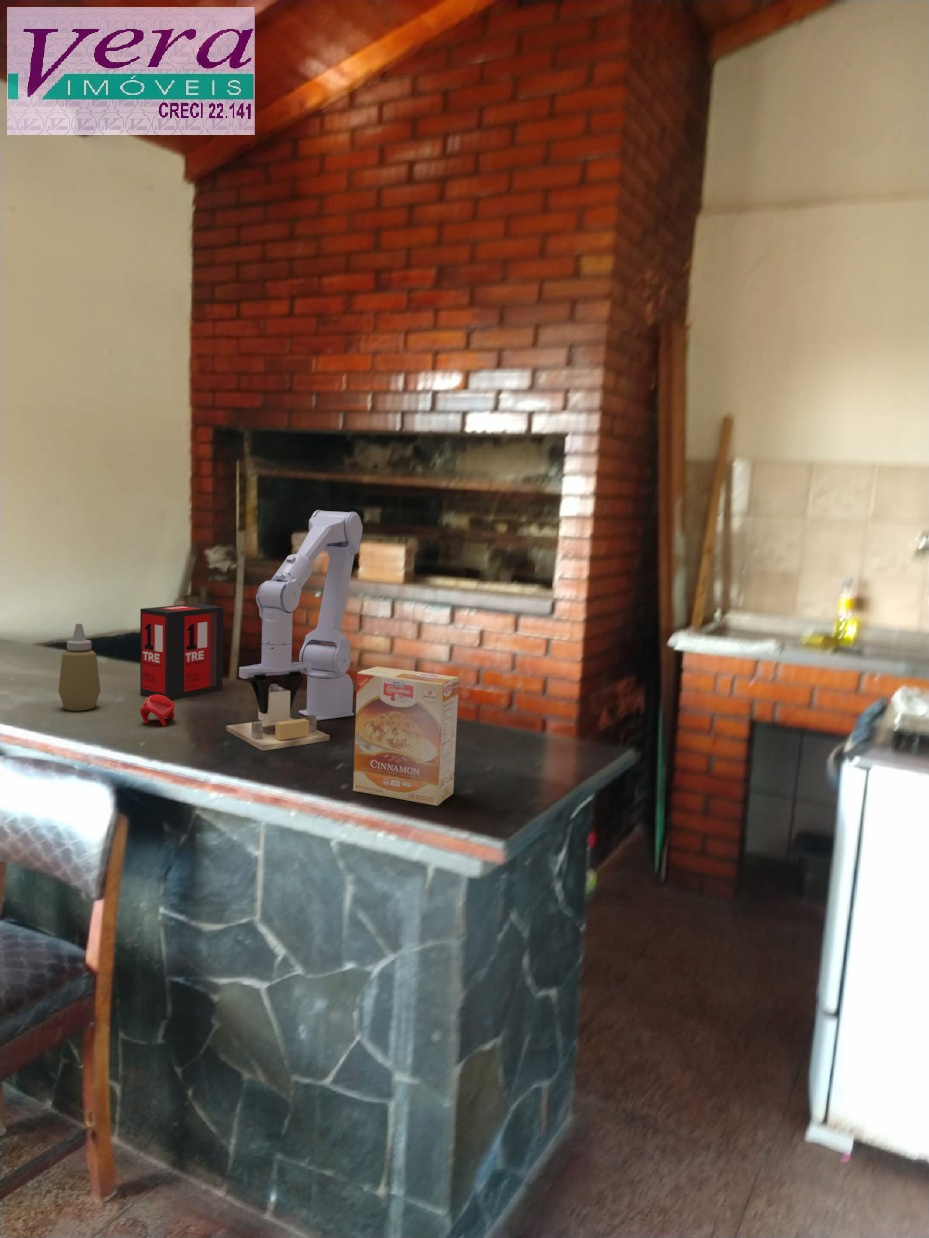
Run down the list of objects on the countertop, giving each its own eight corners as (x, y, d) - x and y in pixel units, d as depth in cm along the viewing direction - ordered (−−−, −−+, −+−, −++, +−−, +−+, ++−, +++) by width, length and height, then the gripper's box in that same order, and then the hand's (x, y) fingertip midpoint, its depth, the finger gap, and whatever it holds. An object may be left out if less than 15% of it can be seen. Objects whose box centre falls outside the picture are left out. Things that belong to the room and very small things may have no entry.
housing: (279, 716, 170) (279, 682, 169) (289, 720, 167) (290, 685, 166) (258, 719, 167) (258, 684, 167) (268, 723, 164) (269, 687, 163)
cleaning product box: (196, 684, 208) (196, 603, 205) (222, 689, 204) (223, 607, 201) (140, 695, 194) (140, 608, 191) (167, 701, 189) (167, 612, 187)
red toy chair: (162, 714, 166) (180, 693, 170) (136, 701, 167) (155, 681, 171) (163, 738, 171) (182, 718, 176) (138, 726, 172) (157, 706, 177)
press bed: (290, 722, 177) (290, 703, 176) (329, 740, 165) (329, 720, 164) (226, 730, 168) (226, 710, 168) (262, 750, 156) (263, 729, 155)
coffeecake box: (351, 791, 136) (355, 672, 134) (371, 779, 143) (376, 665, 140) (437, 807, 131) (443, 683, 129) (454, 793, 138) (460, 675, 135)
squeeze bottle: (49, 709, 178) (48, 624, 175) (80, 702, 185) (79, 620, 183) (79, 714, 175) (78, 628, 172) (109, 707, 182) (108, 623, 180)
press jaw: (303, 733, 164) (303, 718, 164) (308, 736, 163) (309, 720, 162) (275, 737, 160) (275, 722, 160) (280, 740, 159) (280, 724, 159)
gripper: (300, 637, 172) (298, 703, 174) (232, 641, 163) (231, 710, 165) (317, 642, 167) (315, 710, 169) (248, 647, 158) (247, 718, 160)
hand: (275, 711), depth 166 cm, fingers closed on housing, 4 cm apart
